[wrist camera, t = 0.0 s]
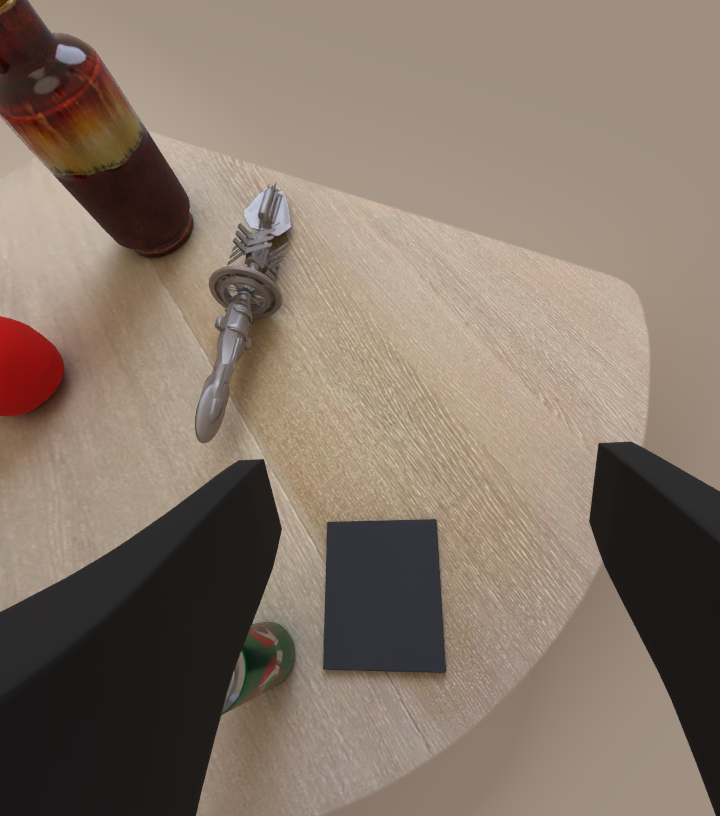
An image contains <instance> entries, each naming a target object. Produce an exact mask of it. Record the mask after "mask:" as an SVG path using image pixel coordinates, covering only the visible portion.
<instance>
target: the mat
mask: <svg viewBox="0 0 720 816" xmlns="http://www.w3.org/2000/svg"><path fill="white" fill-rule="evenodd" d="M323 669H324V670H362V671H401V672H439V673H445V672H446V669H445V652H444V636H443V620H442V604H441V587H440V571H439V555H438V539H437V522H436V519H431V520H391V521H351V522H328V523H327V557H326V593H325V629H324V665H323Z"/></svg>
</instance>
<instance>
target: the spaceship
mask: <svg viewBox="0 0 720 816" xmlns="http://www.w3.org/2000/svg"><path fill="white" fill-rule="evenodd" d="M275 187H276V183H275V185H274V187H273V186H272V185H269V186H268V187H267V188H266V189H265V190H264V191H263V192H262V193H260V194H259V195H258V196H257V197H256V198H255V200H254V201H253V202H252V203H251V204H250V205H249V206H248V208H247V209H246V210H245V211H244V212H243V214H244V216H245V218H246V221H247V223H248V225H249V227H250V228H253V229H257V230H258V232H256V233H252V232H251V233H250V232H249V231H248V230H247V229H246V228H245V227H244V226H243V225H242V224H241V223H240V224H239V225H238V228H239V229H240V230H241V231H242V233H243V234H244V235H245V236H246V237H244V236H243V235H242V234H241V233H240V232H239V231H236V236H237V237H238V238H239V239H240V240H241V242H240V241H239V240H238V239H236V238H235V239H234V240H233V242H234V243H235V245H236V246H235V247H234V248H233V250H235V249H236V248H237V247H238V248H239V249H238V250H236V251H235V252H234V253H233V254H231V256H230V258H231V257H233V256H234V255H235V254H237V253H238V252H239V251H242V252H241V253H239V254H238V255H237V256H235V257H234V258H233V259H232V260H230V261H229V262H228V265H229V264H230V263H232V262H233V261H235V260H236V259H238V258H239V257H240V256H242V255H243V254H244V255H245V254H246V261H245V264H247V265H248V266H246V267H242V266H228V265H227V267H223V268H220V269H218V270H217V271H215V272H214V273H213V274H212V275H211V277H210V280H209V287H210V291H211V293H212V295H213V297H214V298H215V299H216V301H217V302H218V303H220V304H221V305H222V306H223V307H225V308H226V311H225V312H226V315H225V318H224V317H222V316H220V317H218V318H217V320H216V323H215V327H216V328H217V329H218V330H219V331H220V335H219V338H218V347H217V359H216V362H215V365H214V368H213V371H212V374H211V375H210V376H209V377H208V378H207V379H206V382H205V384H204V388H203V391H202V394H201V397H200V400H199V403H198V406H197V411H196V416H195V431H196V436H197V438H198V440H199V442H201V443H207V442H209V441H210V440H212V439H213V437H214V436H215V435H216V433H217V431H218V430H219V428H220V425H221V423H222V420H223V417H224V413H225V409H226V405H227V402H228V398H229V393H230V392H229V382H230V379H231V376H232V373H233V371H234V367H235V365H236V364H237V362H238V360H239V358H240V357H241V355H242V353H243V350H246V351H247V350H249V349H250V347H251V343H252V341H251V340H250V338H249V337H247V336H248V332H249V329H250V325H251V324H253V321H252V318H262V317H267V316H270V315H272V314H274V313H276V312H277V311H278V310H279V309H280V307H281V305H282V295H281V293H280V290H279V288H278V287H277V285H276V284H275V283H274V281H275V280H276V278H275V277H274V276H273V274H272V273H271V272H270V271H269V270H271V271H272V272H273V273H274V274H275V275H276V274H277V273H278V271H277V270H276V269H275V268H274V266H276V267H277V268H278V267H279V265H280V264H279V263H280V262H281V261H283V260H284V257H285V256H284V257H282V258H281V259H279V260H277V261H276V259H277V258H278V257H280V256H281V255H283V254H284V253H285V252H286V249H285V250H284V251H282V252H281V253H279V254H277V255H276V256H274V257H273V255H275V254H276V253H277V252H279V251H280V250H281V249H283V248H284V247H286V246H287V245H288V242H287V243H285V244H284V245H282V246H281V247H279V248H278V249H276V250H275V251H273V252H272V253H271V252H269V247H270V246H271V245H272V243H268V242H267V240H271V239H273V238H274V235H275V236H279V235H281V234H282V233H284V232H285V231H287V230H288V229H290V228H291V222H290V216H289V209H288V203H287V201H286V198H285V192H283V191H279V190H278V189H277V188H276V189H275ZM269 234H270V235H272V236H270V235H269ZM243 243H244V245H243ZM233 250H232V251H233ZM268 252H269V253H268ZM271 263H272V264H271ZM264 274H265V275H264ZM267 276H268V277H269V278H268V277H267ZM232 284H233V285H234V286H235V287H236V288H235V289H237V290H234V291H236V292H234V291H231V290H233V289H228V288H231V287H230V286H229V285H232ZM227 286H228V287H227ZM217 288H218V289H217ZM232 288H234V287H232ZM229 290H230V292H234V293H238V294H237V295H235V296H233V297H232V296H231V295H230V293H229V292H228V291H229ZM226 291H227V292H226ZM255 292H257V293H255ZM254 293H255V294H254ZM228 294H229V295H228ZM258 294H262V296H261V297H258V296H260V295H258ZM256 295H258V296H256ZM253 296H255V297H258V298H262V297H264V298H262V299H265V301H264V302H262V303H258V301H257V300H256V299H255V297H253ZM251 301H252V302H253V303H254V304H251ZM260 304H261V305H260ZM251 305H254V306H251ZM271 306H272V307H271ZM268 308H269V309H268Z"/></svg>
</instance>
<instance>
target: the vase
mask: <svg viewBox="0 0 720 816" xmlns="http://www.w3.org/2000/svg"><path fill="white" fill-rule="evenodd" d="M0 117H1V118H2V119H3V120H4V121H5V122H6V123H7V124H8V126H9V127H10V128H11V129H12V130H13V131H14V132H15V133H16V135H17V136H18V137H19V138H20V139H21V140H22V141H23V142H24V143H25V144H26V145H27V147H28V148H29V149H30V150H31V151H32V152H33V153H34V154H35V155H36V156H37V157H38V159H39V160H40V161H41V162H42V163H43V164H44V165H45V166H46V167H47V168H48V169H49V170H50V172H51V173H52V174H53V175H54V176H55V177H56V178H57V179H58V180H59V181H60V182H61V183H62V185H63V186H64V187H65V188H66V189H67V190H68V191H69V192H70V193H71V194H72V195H73V196H74V197H75V199H76V200H77V201H78V202H79V203H80V204H81V205H82V206H83V207H84V208H85V209H86V210H87V211H88V213H89V214H90V215H91V216H92V217H93V218H94V219H95V220H96V221H97V222H98V223H99V224H100V225H101V226H102V228H103V229H104V230H105V231H106V232H107V233H108V234H109V235H110V236H111V237H112V238H113V239H114V240H115V241H116V242H117V243H118V244H120V245H122V246H123V247H126V248H129V249H133V250H134V251H135V252H136V253H137V254H139V255H141V256H144V257H148V258H156V257H162V256H165V255H167V254H170V253H172V252H174V251H175V250H177V249H178V248H179V247H181V246H182V245H183V244H184V243H185V242H186V240H187V239H188V238H189V236H190V234H191V232H192V229H193V218H192V215H191V213H190V212H189V209H190V204H189V198H188V196H187V194H186V192H185V191H184V189H183V187H182V185H181V184H180V182H179V180H178V179H177V177H176V176H175V174H174V172H173V171H172V169H171V168H170V166H169V164H168V163H167V161H166V160H165V158H164V157H163V155H162V153H161V152H160V150H159V149H158V147H157V145H156V144H155V142H154V141H153V139H152V138H151V136H150V134H149V133H148V131H147V130H146V128H145V127H144V125H143V123H142V122H141V120H140V119H139V117H138V116H137V114H136V112H135V111H134V109H133V108H132V106H131V105H130V103H129V101H128V100H127V99H126V97H125V95H124V94H123V92H122V90H121V89H120V87H119V86H118V84H117V83H116V81H115V79H114V78H113V76H112V75H111V73H110V72H109V70H108V69H107V67H106V66H105V64H104V63H103V61H102V60H101V58H100V57H99V55H98V54H97V52H96V51H95V50H94V49H93V48H92V47H91V46H90V45H89V44H87V43H85V42H83V41H82V40H80V39H78V38H76V37H73V36H70V35H68V34H63V33H51V32H50V31H49V29H48V28H47V26H46V25H45V24H44V22H43V21H42V20H41V18H40V17H39V15H38V14H37V13H36V11H35V10H34V9H33V7H32V6H31V4H30V3H29V1H28V0H0Z"/></svg>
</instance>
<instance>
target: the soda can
mask: <svg viewBox="0 0 720 816" xmlns="http://www.w3.org/2000/svg"><path fill="white" fill-rule="evenodd" d="M294 657H295V650H294V644H293V641H292V639H291V636H290V635H289V633H288V632H287V631H286V630H285V629H284V628H283V627H282V626H280V625H278V624H276V623H272V622H264V623H256V624H252V625H251V627H250V630H249V633H248V635H247V638H246V640H245V643H244V646H243V648H242V651H241V653H240V656H239V659H238V661H237V664H236V667H235V670H234V673H233V676H232V679H231V682H230V685H229V688H228V692H227V696H226V699H225V703H224V706H223V710H222V714H221V715H223V714H225V713H226V712H228V711H230V710H232V709H234V708H236V707H238V706H240V705H242V704H244V703H246V702H247V701H249V700H251V699H253V698H255V697H257V696H259V695H261V694H263V693H265V692H266V691H268V690H270V689H272V688H274V687H276V686H278V685H279V684H281V683H282V682H283V681H284V680H285V679H286V678H287V676H288V675H289V673H290V671H291V669H292V667H293V663H294Z"/></svg>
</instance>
